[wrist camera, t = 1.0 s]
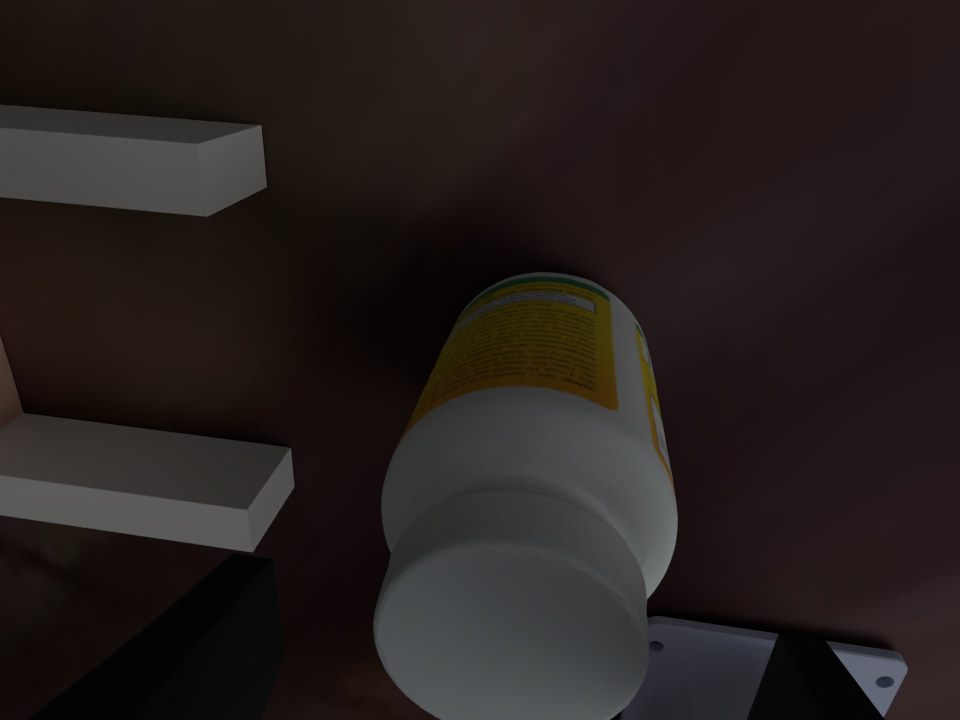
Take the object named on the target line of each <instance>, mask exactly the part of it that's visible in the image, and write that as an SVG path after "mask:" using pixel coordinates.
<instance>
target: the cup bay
mask: <svg viewBox="0 0 960 720" xmlns="http://www.w3.org/2000/svg"><path fill="white" fill-rule="evenodd" d="M266 187H267V181H266V170H265V159H264V148H263V137H262V126H261V125H252V124H239V123H226V122H214V121H201V120H188V119H176V118H163V117H150V116H138V115H125V114H112V113H99V112H87V111H74V110H61V109H49V108H36V107H23V106H11V105H0V197H5V198H16V199H26V200H37V201H47V202H58V203H69V204H79V205H90V206H100V207H111V208H122V209H132V210H143V211H153V212H164V213H175V214H185V215H196V216H207V217H208V216H210V215H212V214H214V213H216V212H218V211H220V210H222V209H224V208H226V207H228V206H230V205H232V204H234V203H236V202H238V201H240V200H242V199H244V198H246V197H248V196H250V195H252V194H254V193H256V192H258V191H260V190H262V189H264V188H266ZM293 488H294V476H293V465H292V455H291V448H289V447H282V446H274V445H266V444H258V443H251V442H243V441H235V440H228V439H220V438H212V437H205V436H197V435H189V434H181V433H174V432H166V431H158V430H151V429H143V428H135V427H128V426H120V425H112V424H105V423H97V422H89V421H81V420H74V419H66V418H58V417H51V416H43V415H35V414H28V413H24V412H23V409H22V405H21V402H20V399H19V396H18V392H17V389H16V386H15V382H14V379H13V376H12V372H11V369H10V366H9V363H8V359H7V356H6V353H5V349H4V346H3V343H2V339H1V336H0V515H3V516H10V517H17V518H24V519H30V520H37V521H44V522H51V523H58V524H64V525H71V526H78V527H85V528H91V529H98V530H105V531H112V532H119V533H125V534H132V535H139V536H146V537H152V538H159V539H166V540H173V541H180V542H186V543H193V544H200V545H207V546H213V547H220V548H227V549H234V550H241V551H247V552H253V551H254V549H255V548H256V546H257V545H258V543H259V542H260V540H261V538H262V537H263V535H264V534H265V532H266V531H267V529H268V527H269V526H270V524H271V523H272V521H273V520H274V518H275V516H276V515H277V513H278V512H279V510H280V509H281V507H282V505H283V504H284V502H285V501H286V499H287V498H288V496H289V494H290V493H291V491H292V490H293Z"/></svg>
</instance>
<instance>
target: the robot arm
mask: <svg viewBox="0 0 960 720" xmlns="http://www.w3.org/2000/svg"><path fill="white" fill-rule="evenodd" d="M647 622H648V635H649V663H648V667H647V671H646V675H645V678H644V681H643V683H642V685H641V687H640V688H639V690H638V692H637V693H636V695H635V696H634V698H633V699H632V700H631V702H630V703H629V704H628V705H627V706H626V707H625V708H624V709H623V710H622V711H621V715H620V720H885V719H884V716H885V714H886V712H887V710H888V708H889V706H890V704H891V702H892V700H893V698H894V696H895V694H896V692H897V690H898V688H899V686H900V684H901V683H902V681H903V679H904V677H905V675H906V673H907V666H906V664H905V662H904V660H903V658H902V656H901V655H900V654H899V653H897V652H894V651H891V650H884V649H878V648H871V647H864V646H857V645H851V644H844V643H837V642H830V641H825V640H819V639H813V638H806V637H799V636H792V635H785V634H779V633H778V634H776V633H770V632H763V631H756V630H749V629H743V628H736V627H729V626H722V625H716V624H709V623H702V622H695V621H689V620H682V619H675V618H668V617H662V616H653V617H649V618H647ZM652 641H658V643H652ZM283 656H284V650H283V642H282V633H281V625H280V616H279V608H278V599H277V591H276V582H275V574H274V565H273V559H270V558H263V557H256V556H250V555H243V554H236V553H233V554H232V555H231V556H229V557H228V558H227V559H225V560H224V561H223V562H222V563H221V564H219V565H218V566H217V567H216V568H214V569H213V570H212V571H211V572H210V573H208V574H207V575H206V576H205V577H204V578H203V579H201V580H200V581H199V582H198V583H197V584H195V585H194V586H193V587H192V588H191V589H190V590H188V591H187V592H186V593H185V594H184V595H183V596H181V597H180V598H179V599H178V600H177V601H175V602H174V603H173V604H172V605H171V606H169V607H168V608H167V609H166V610H165V611H164V612H162V613H161V614H160V615H159V616H158V617H156V618H155V619H154V620H153V621H152V622H150V623H149V624H148V625H147V626H146V627H144V628H143V629H142V630H141V631H139V632H138V633H137V634H136V635H135V636H133V637H132V638H131V639H130V640H128V641H127V642H126V643H125V644H123V645H122V646H121V647H120V648H118V649H117V650H116V651H115V652H113V653H112V654H111V655H110V656H109V657H107V658H106V659H105V660H104V661H102V662H101V663H100V664H99V665H97V666H96V667H95V668H94V669H92V670H91V671H90V672H89V673H87V674H86V675H85V676H83V677H82V678H81V679H80V680H78V681H77V682H76V683H74V684H73V685H72V686H70V687H69V688H68V689H66V690H65V691H64V692H62V693H61V694H60V695H58V696H57V697H56V698H54V699H53V700H52V701H50V702H49V703H48V704H46V705H45V706H44V707H42V708H41V709H40V710H38V711H37V712H36V713H34V714H33V715H32V716H30V717H29V718H28V719H27V720H260V719H261V716H262V713H263V711H264V708H265V706H266V703H267V700H268V698H269V695H270V693H271V690H272V687H273V684H274V682H275V679H276V676H277V673H278V670H279V668H280V665H281V662H282V659H283Z"/></svg>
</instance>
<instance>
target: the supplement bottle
mask: <svg viewBox="0 0 960 720" xmlns="http://www.w3.org/2000/svg"><path fill="white" fill-rule="evenodd" d="M381 511H382V522H383V528H384V533H385V537H386V541H387V544H388V547H389V550H390V552H391V557H390V560H389V565H388V570H387V573H386V576H385V579H384V581H383V584H382V588H381V591H380V594H379V597H378V601H377V605H376V608H375V613H374V621H373V630H374V641H375V645H376V648H377V652H378V655H379V657H380V659H381V662H382V664H383V666H384V668H385V670H386V671H387V673H388V674H389V676H390V677H391V678H392V680H393V681H394V683H395V684H396V685H397V686H398V687H399V688H400V690H401V691H402V692H403V693H404V694H405V695H406V696H407V697H409V698H410V699H411V700H412V701H413V702H415V703H416V704H417V705H419V706H420V707H421V708H422V709H424V710H425V711H427V712H429V713H430V714H432V715H433V716H435V717H437V718H439V719H441V720H610V719H612V718H613V717H614V716H616V715H617V714H618V713H619V712H620V711H622V710H623V709H624V708H625V707H626V706H627V705H628V704H629V703H630V702H631V700H632V699H633V698H634V696H635V695H636V693H637V692H638V690H639V688H640V687H641V685H642V683H643V681H644V678H645V675H646V671H647V667H648V663H649V635H648V622H647V611H646V609H647V599H648V598H649V597H650V595H651V594H652V593H653V592H654V590H655V589H656V588H657V586H658V585H659V583H660V581H661V580H662V578H663V576H664V575H665V573H666V571H667V568H668V566H669V563H670V561H671V558H672V555H673V551H674V548H675V542H676V535H677V521H678V517H677V506H676V499H675V492H674V486H673V479H672V474H671V469H670V463H669V457H668V453H667V447H666V441H665V435H664V430H663V425H662V421H661V415H660V409H659V403H658V398H657V392H656V385H655V379H654V375H653V370H652V364H651V360H650V355H649V351H648V347H647V343H646V340H645V337H644V334H643V332H642V330H641V328H640V326H639V324H638V322H637V320H636V319H635V317H634V316H633V314H632V313H631V312H630V310H629V309H628V308H627V307H626V306H625V305H624V304H623V303H622V302H621V301H620V300H619V299H618V298H617V297H616V296H615V295H613V294H612V293H611V292H609V291H608V290H606V289H605V288H603V287H601V286H600V285H598V284H596V283H594V282H592V281H590V280H587V279H585V278H581V277H576V276H572V275H567V274H560V273H550V272H535V273H527V274H521V275H517V276H513V277H510V278H507V279H504V280H502V281H500V282H498V283H496V284H494V285H492V286H490V287H489V288H487V289H486V290H484V291H483V292H481V293H480V294H479V295H478V296H476V297H475V298H474V299H473V300H472V301H471V302H470V303H469V304H468V305H467V307H466V308H465V309H464V310H463V312H462V313H461V315H460V316H459V318H458V319H457V321H456V323H455V325H454V327H453V329H452V331H451V333H450V335H449V337H448V340H447V341H446V343H445V345H444V347H443V349H442V351H441V354H440V356H439V358H438V360H437V362H436V364H435V367H434V369H433V371H432V373H431V375H430V377H429V380H428V382H427V384H426V386H425V388H424V391H423V393H422V395H421V396H420V399H419V401H418V403H417V405H416V408H415V410H414V412H413V414H412V416H411V418H410V421H409V423H408V425H407V427H406V429H405V431H404V434H403V436H402V437H401V440H400V442H399V444H398V446H397V448H396V450H395V453H394V455H393V457H392V459H391V462H390V464H389V468H388V471H387V474H386V477H385V481H384V486H383V492H382V504H381Z"/></svg>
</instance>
